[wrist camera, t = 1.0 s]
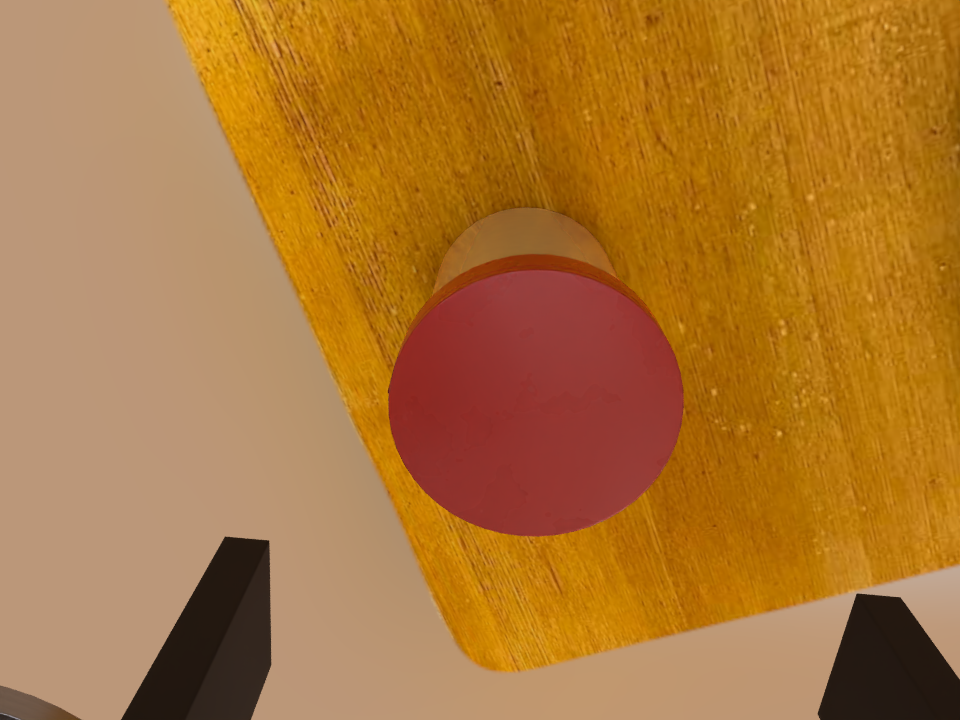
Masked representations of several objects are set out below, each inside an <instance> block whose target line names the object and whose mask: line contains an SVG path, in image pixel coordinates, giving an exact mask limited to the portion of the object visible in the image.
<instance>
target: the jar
mask: <svg viewBox="0 0 960 720" xmlns="http://www.w3.org/2000/svg"><path fill="white" fill-rule="evenodd" d="M525 254H550V255H556V256H562V257H569V258H572V259H576V260H579V261H582V262H586V263H588V264H591V265H593V266H595V267H597V268H600V269H602V270H604V271H606V272H607V273H609V274H611V275H612V276H614V277H615V278H617V279H619V278H618V276H617V274H616V272H615V270H614V268H613V266H612V264H611V262H610V260H609V258H608V256H607V254H606V252H605V250H604V249H603V247H602V246H601V244H600V243H599V242H598V240H597V239H596V238H595V237H594V236H593V235H592V234H591V233H590V232H589V231H588V230H587V229H586V228H584V227H583V226H582V225H581V224H579V223H577V222H576V221H574V220H573V219H571V218H569V217H567V216H565V215H562V214H560V213H557V212H554V211H550V210H546V209H540V208H525V207H523V208H513V209H508V210H503V211H499V212H496V213H494V214H491V215H489V216H486V217H485V218H483V219H481V220H479V221H477V222H476V223H474V224H473V225H471V226H470V227H469V228H467V229H466V230H465V231H464V232H463V233H462V234H461V235H460V236H459V237H458V238H457V239H456V240H455V242H454V243H453V244H452V245H451V247H450V248H449V250H448V251H447V253H446V255H445V256H444V259H443V261H442V263H441V266H440V268H439V272H438V275H437V279H436V282H435V285H434V289H433V292H432V296H433V295H434V294H435V293H436V292H437V291H438V290H439V289H440V288H441V287H443V286H444V285H445V284H447V283H448V282H450V281H451V280H452V279H454V278H455V277H457V276H458V275H460V274H462V273H464V272H466V271H468V270H469V269H471V268H473V267H475V266H478V265H481V264H483V263H486V262H489V261H492V260H495V259H500V258H504V257H508V256H515V255H525ZM432 296H431V297H432Z"/></svg>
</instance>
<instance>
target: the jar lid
mask: <svg viewBox="0 0 960 720" xmlns="http://www.w3.org/2000/svg"><path fill="white" fill-rule="evenodd" d="M388 393H389V398H388V401H389V420H390V425H391V431H392V435H393V438H394V441H395V445H396V448H397V450H398V452H399V454H400V457H401V459H402V461H403V463H404V465H405V466H406V468H407V469H408V471H409V472H410V474H411V475H412V477H413V479H414V480H415V481H416V482H417V483H418V484H419V486H420V487H421V488H422V489H423V490H424V491H425V493H427V494H428V495H429V496H430V497H431V498H432V499H433V500H434V501H436V502H437V503H438V504H439V505H440V506H442V507H443V508H445V509H446V510H448V511H449V512H451V513H452V514H454V515H456V516H457V517H459V518H461V519H463V520H465V521H467V522H469V523H471V524H474V525H477V526H479V527H482V528H484V529H488V530H492V531H496V532H499V533H504V534H511V535H518V536H549V535H558V534H564V533H569V532H574V531H577V530H580V529H584V528H587V527H590V526H592V525H595V524H597V523H599V522H602V521H604V520H606V519H608V518H610V517H612V516H613V515H615V514H617V513H618V512H620V511H622V510H623V509H625V508H626V507H627V506H629V505H630V504H631V503H633V502H634V501H635V500H637V499H638V498H639V497H640V496H641V495H642V494H643V493H644V492H645V491H646V490H647V489H648V488H649V487H650V486H651V484H652V483H653V482H654V481H655V479H656V478H657V477H658V476H659V474H660V473H661V471H662V470H663V468H664V467H665V465H666V463H667V462H668V460H669V458H670V456H671V454H672V451H673V449H674V447H675V445H676V442H677V439H678V435H679V432H680V428H681V424H682V416H683V408H684V402H683V385H682V379H681V373H680V370H679V366H678V363H677V360H676V357H675V354H674V352H673V350H672V348H671V346H670V344H669V342H668V340H667V338H666V336H665V335H664V333H663V331H662V329H661V327H660V326H659V324H658V322H657V320H656V319H655V317H654V316H653V314H652V313H651V311H650V310H649V308H648V307H647V306H646V304H645V303H644V302H643V301H642V300H641V299H640V298H639V297H638V296H637V295H636V293H635V292H634V291H632V290H631V289H630V288H629V287H628V286H626V285H625V284H624V283H623V282H621V281H620V280H619V279H617V278H615V277H614V276H612V275H611V274H609V273H607V272H606V271H604V270H602V269H600V268H597V267H595V266H593V265H591V264H588V263H586V262H582V261H579V260H576V259H572V258H569V257H562V256H556V255H550V254H525V255H515V256H508V257H504V258H500V259H495V260H492V261H489V262H486V263H483V264H481V265H478V266H475V267H473V268H471V269H469V270H468V271H466V272H464V273H462V274H460V275H458V276H457V277H455V278H454V279H452V280H451V281H450V282H448V283H447V284H445V285H444V286H443V287H441V288H440V289H439V290H438V291H437V292H436V293H435V294H434V295H433V296H432V297H431V298H430V299H429V300H428V301H427V302H426V304H425V305H424V306H423V307H422V308H421V310H420V311H419V312H418V314H417V315H416V317H415V319H414V320H413V322H412V323H411V325H410V327H409V329H408V331H407V333H406V336H405V338H404V340H403V343H402V345H401V348H400V351H399V354H398V357H397V360H396V363H395V366H394V370H393V374H392V377H391V381H390V385H389V388H388Z"/></svg>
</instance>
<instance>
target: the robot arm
mask: <svg viewBox="0 0 960 720" xmlns="http://www.w3.org/2000/svg"><path fill="white" fill-rule="evenodd" d="M269 554H270V553H269V541H267V540H256V539H245V538H233V537H225V538H224V540H223V541H222V543H221V545H220V547H219V548H218V550H217V552H216V554H215V555H214V557H213V559H212V561H211V563H210V564H209V566H208V568H207V570H206V571H205V573H204V575H203V577H202V578H201V580H200V582H199V584H198V585H197V587H196V589H195V591H194V592H193V594H192V596H191V598H190V599H189V601H188V603H187V605H186V606H185V608H184V610H183V612H182V613H181V615H180V617H179V619H178V620H177V622H176V624H175V626H174V628H173V629H172V631H171V633H170V635H169V636H168V638H167V640H166V642H165V644H164V645H163V647H162V649H161V650H160V652H159V654H158V656H157V658H156V659H155V661H154V663H153V664H152V666H151V668H150V670H149V672H148V674H147V675H146V677H145V679H144V680H143V682H142V684H141V686H140V687H139V689H138V691H137V693H136V694H135V696H134V698H133V700H132V702H131V703H130V705H129V707H128V709H127V710H126V712H125V714H124V715H123V717H122V719H121V720H251V717H252V715H253V712H254V709H255V707H256V704H257V701H258V699H259V696H260V694H261V691H262V688H263V685H264V683H265V680H266V678H267V675H268V672H269V670H270V667H271V624H270V623H271V621H270V620H271V619H270V555H269ZM818 715H819V718H820V720H960V679H959V678H958V677H957V675H956V674H955V673H954V671H953V670H952V668H951V667H950V666H949V664H948V663H947V662H946V660H945V659H944V657H943V656H942V654H941V653H940V652H939V650H938V649H937V647H936V646H935V645H934V643H933V642H932V640H931V639H930V638H929V636H928V635H927V634H926V632H925V631H924V629H923V628H922V627H921V625H920V624H919V622H918V621H917V620H916V618H915V617H914V616H913V614H912V613H911V611H910V610H909V609H908V607H907V606H906V604H905V603H904V602H903V600H902V599H901V598H900V597H890V596H878V595H867V594H856V598H855V601H854V604H853V607H852V610H851V613H850V616H849V619H848V622H847V625H846V628H845V631H844V634H843V637H842V640H841V644H840V647H839V650H838V653H837V656H836V659H835V662H834V665H833V668H832V671H831V674H830V677H829V680H828V683H827V686H826V689H825V693H824V696H823V699H822V702H821V705H820V708H819V711H818Z"/></svg>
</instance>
